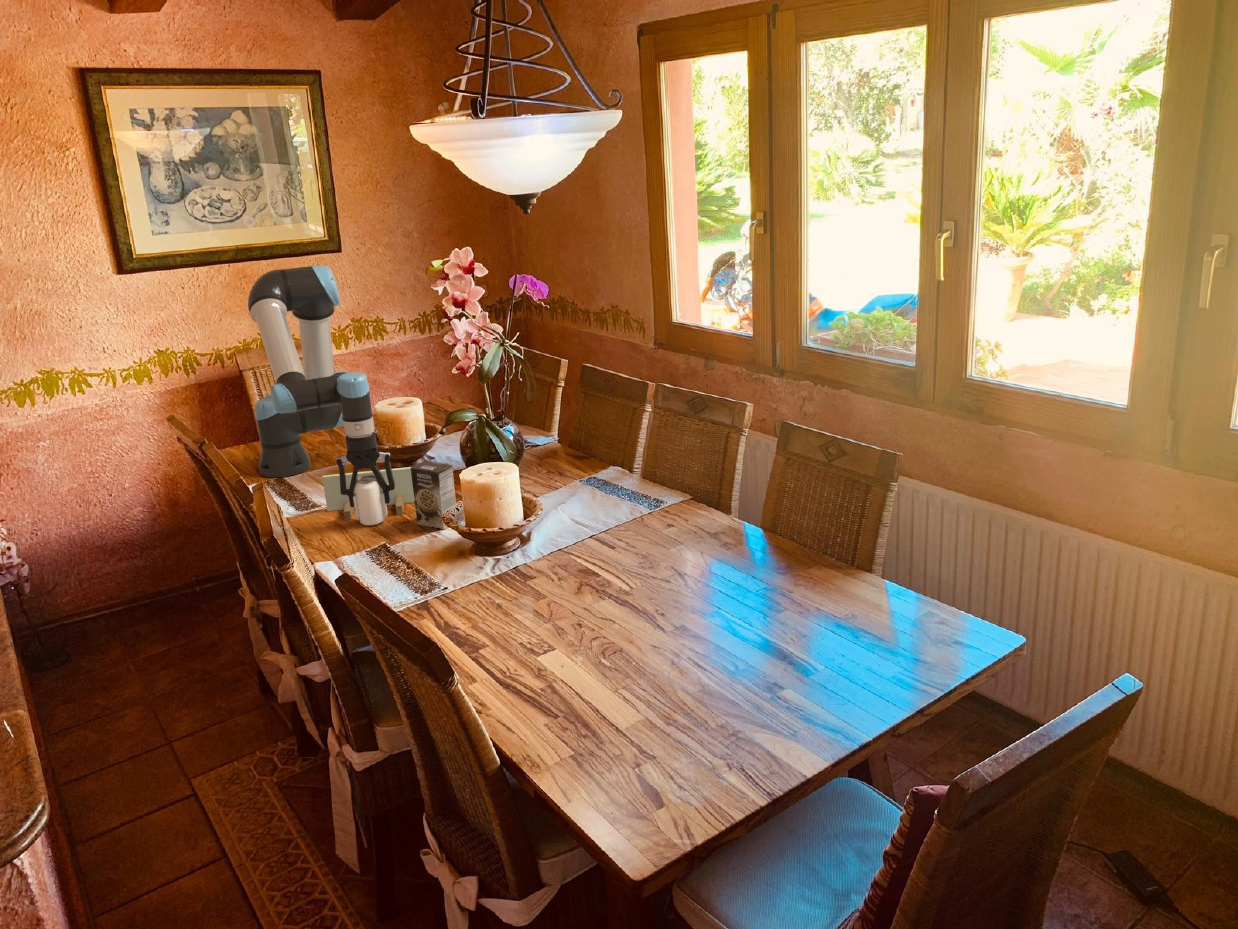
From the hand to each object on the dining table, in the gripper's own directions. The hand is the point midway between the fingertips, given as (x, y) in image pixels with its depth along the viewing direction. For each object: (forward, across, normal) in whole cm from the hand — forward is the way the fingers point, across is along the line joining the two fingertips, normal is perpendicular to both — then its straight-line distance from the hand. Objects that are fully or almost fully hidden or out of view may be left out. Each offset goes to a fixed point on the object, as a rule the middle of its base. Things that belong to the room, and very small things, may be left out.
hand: (372, 515), depth 244 cm
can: (+2, 0, 0) cm, 2 cm away
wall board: (+2, 0, +8) cm, 8 cm away
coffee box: (+2, +17, -5) cm, 18 cm away
